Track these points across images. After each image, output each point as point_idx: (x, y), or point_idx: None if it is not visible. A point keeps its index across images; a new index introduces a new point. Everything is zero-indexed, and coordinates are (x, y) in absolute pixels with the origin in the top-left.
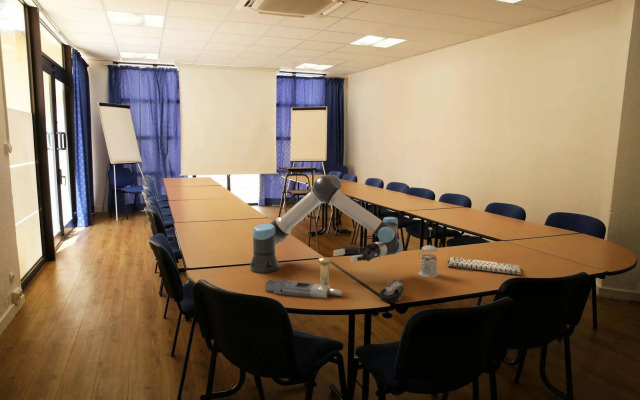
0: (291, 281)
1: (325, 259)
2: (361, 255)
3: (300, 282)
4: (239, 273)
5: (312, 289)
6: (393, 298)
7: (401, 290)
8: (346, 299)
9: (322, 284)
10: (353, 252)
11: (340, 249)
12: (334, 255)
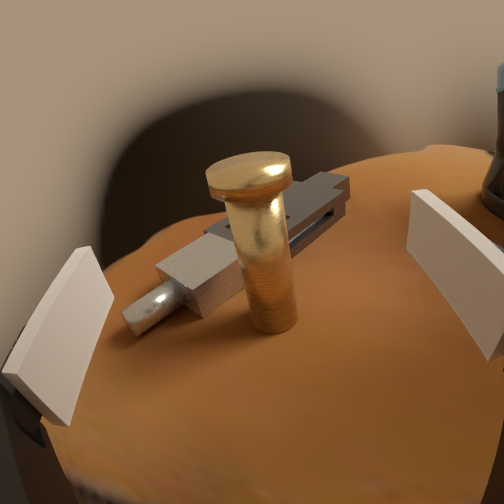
0: (315, 205)
1: (230, 165)
2: (12, 363)
3: (292, 220)
4: (469, 174)
5: (201, 238)
6: None
7: None
8: (104, 339)
9: (222, 269)
10: (497, 489)
11: (482, 240)
12: (407, 242)
